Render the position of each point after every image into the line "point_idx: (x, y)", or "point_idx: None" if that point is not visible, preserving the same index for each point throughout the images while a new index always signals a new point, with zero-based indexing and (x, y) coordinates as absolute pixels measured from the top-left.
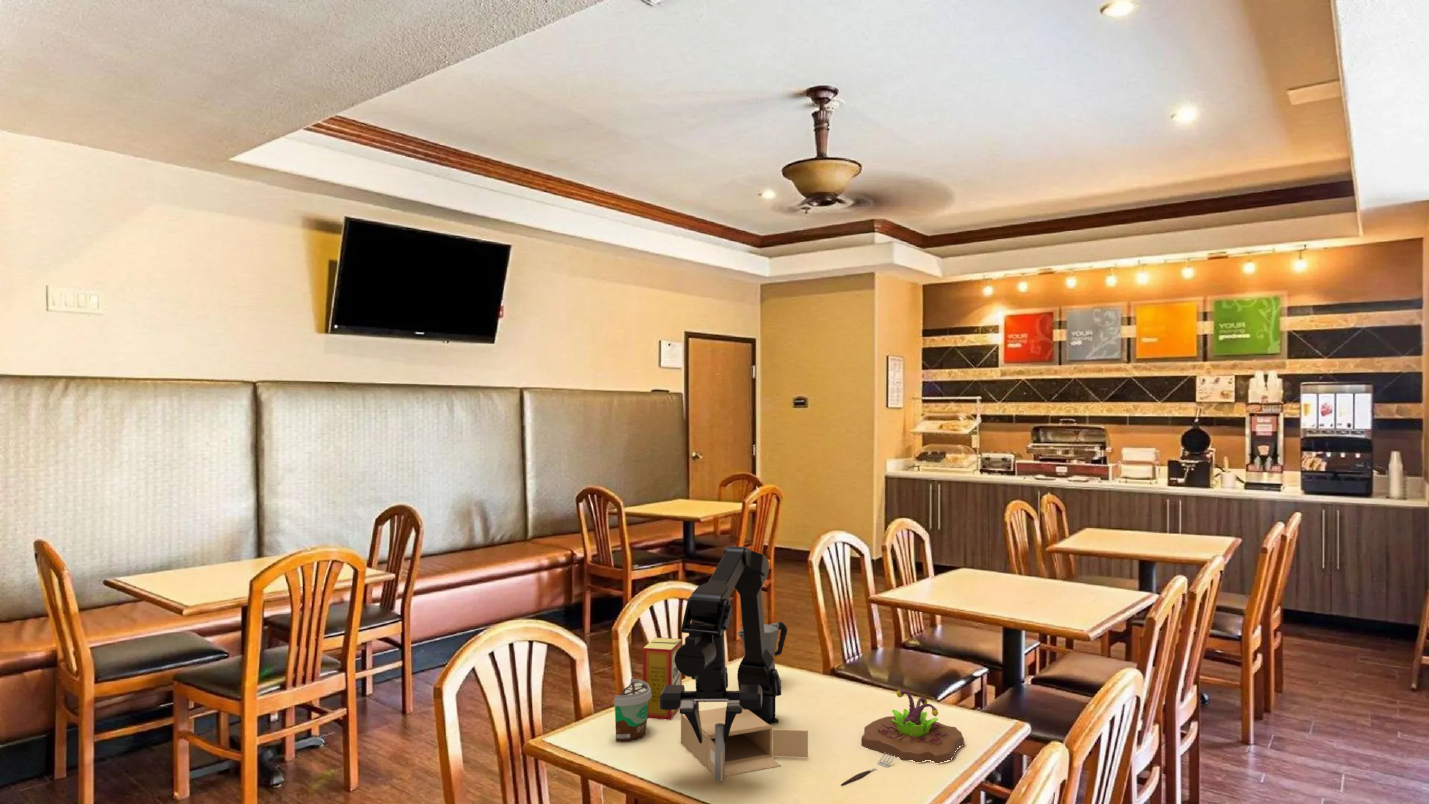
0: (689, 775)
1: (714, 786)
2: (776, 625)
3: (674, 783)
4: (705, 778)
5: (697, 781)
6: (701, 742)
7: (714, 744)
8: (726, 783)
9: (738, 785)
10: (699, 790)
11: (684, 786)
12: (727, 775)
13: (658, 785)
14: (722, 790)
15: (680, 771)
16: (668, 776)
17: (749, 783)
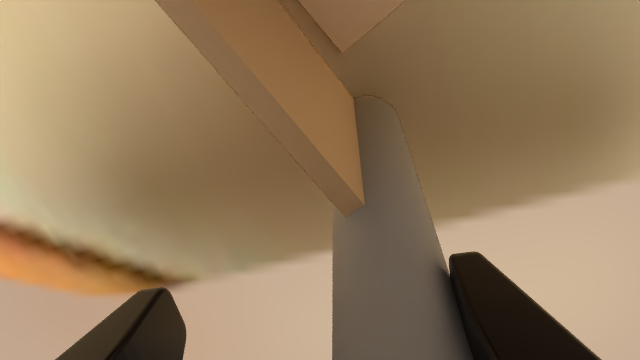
0: (132, 73)
1: None
2: None
3: (107, 203)
4: None
5: (222, 143)
6: (183, 344)
7: (282, 132)
8: (411, 119)
9: (494, 124)
10: (279, 242)
11: (179, 221)
12: (395, 7)
13: (41, 246)
14: None
15: (40, 28)
16: (17, 127)
17: (568, 75)
